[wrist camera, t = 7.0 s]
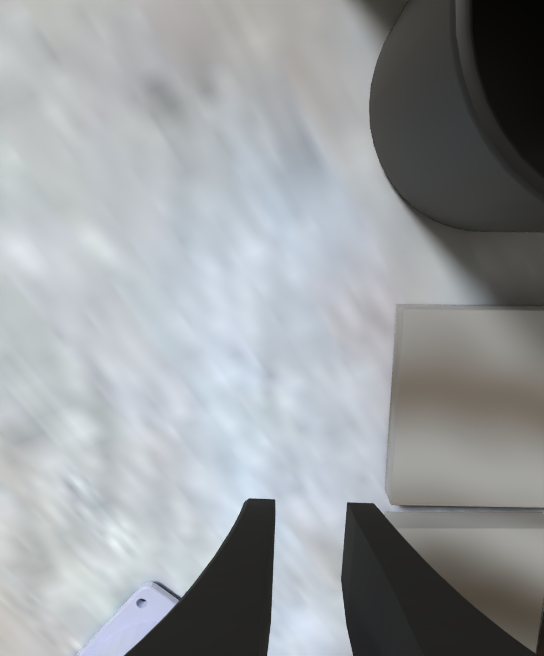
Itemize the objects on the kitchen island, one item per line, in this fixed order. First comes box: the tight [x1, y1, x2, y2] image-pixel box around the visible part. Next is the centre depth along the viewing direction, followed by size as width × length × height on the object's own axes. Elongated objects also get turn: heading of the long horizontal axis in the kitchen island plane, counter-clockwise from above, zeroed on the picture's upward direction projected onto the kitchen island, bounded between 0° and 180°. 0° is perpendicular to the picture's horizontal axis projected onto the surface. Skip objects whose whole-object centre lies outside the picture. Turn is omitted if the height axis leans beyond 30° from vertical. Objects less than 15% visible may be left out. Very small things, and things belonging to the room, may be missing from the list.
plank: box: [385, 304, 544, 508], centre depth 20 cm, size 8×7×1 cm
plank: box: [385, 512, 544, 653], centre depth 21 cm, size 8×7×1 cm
